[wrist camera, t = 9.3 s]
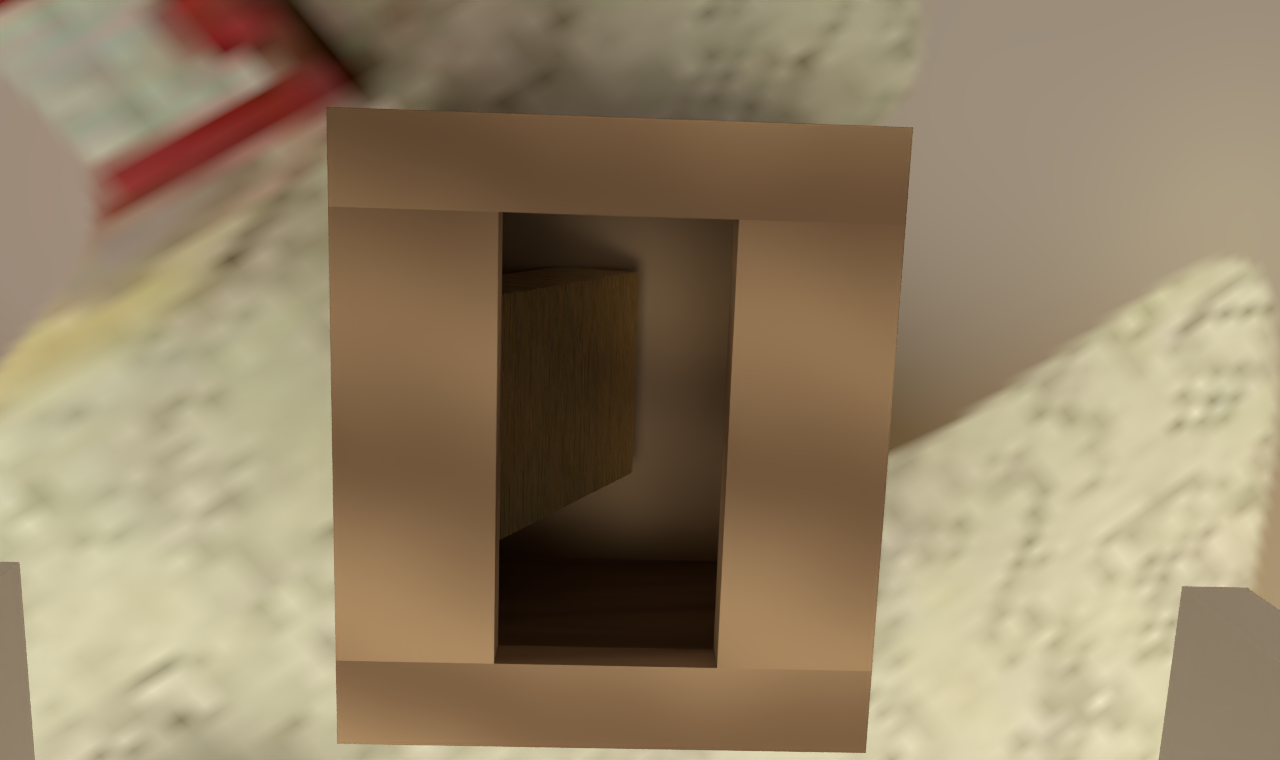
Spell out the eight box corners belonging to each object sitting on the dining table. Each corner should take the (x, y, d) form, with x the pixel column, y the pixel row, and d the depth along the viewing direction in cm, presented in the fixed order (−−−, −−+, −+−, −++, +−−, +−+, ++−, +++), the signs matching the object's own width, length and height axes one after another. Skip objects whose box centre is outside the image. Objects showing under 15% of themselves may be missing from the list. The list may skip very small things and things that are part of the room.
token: (563, 265, 35) (396, 289, 28) (638, 272, 34) (484, 297, 27) (559, 460, 36) (398, 530, 29) (632, 472, 35) (483, 548, 28)
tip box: (414, 121, 34) (326, 106, 24) (818, 136, 35) (913, 127, 24) (416, 572, 37) (337, 743, 26) (791, 580, 38) (865, 753, 27)
